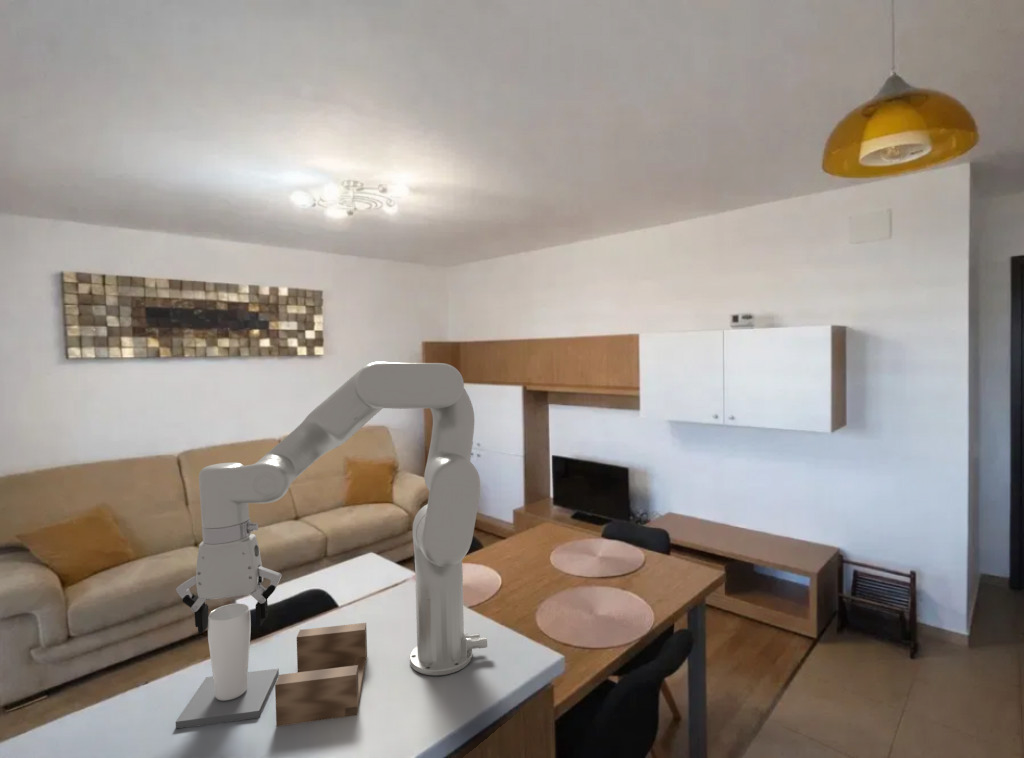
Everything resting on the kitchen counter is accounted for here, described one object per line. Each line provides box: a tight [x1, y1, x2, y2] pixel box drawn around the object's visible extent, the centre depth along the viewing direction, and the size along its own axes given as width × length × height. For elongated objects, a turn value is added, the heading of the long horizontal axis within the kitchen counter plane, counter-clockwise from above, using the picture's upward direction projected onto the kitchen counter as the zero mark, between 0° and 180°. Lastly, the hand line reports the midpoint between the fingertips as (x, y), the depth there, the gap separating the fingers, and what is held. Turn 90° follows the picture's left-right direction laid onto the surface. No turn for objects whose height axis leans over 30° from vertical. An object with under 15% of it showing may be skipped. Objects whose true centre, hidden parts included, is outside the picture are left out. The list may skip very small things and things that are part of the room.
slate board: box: [175, 668, 280, 729], centre depth 95 cm, size 13×13×1 cm
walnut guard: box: [274, 622, 368, 727], centre depth 98 cm, size 13×19×7 cm
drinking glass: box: [207, 602, 252, 701], centre depth 94 cm, size 7×7×15 cm
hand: (232, 626), depth 95 cm, fingers open, 9 cm apart
